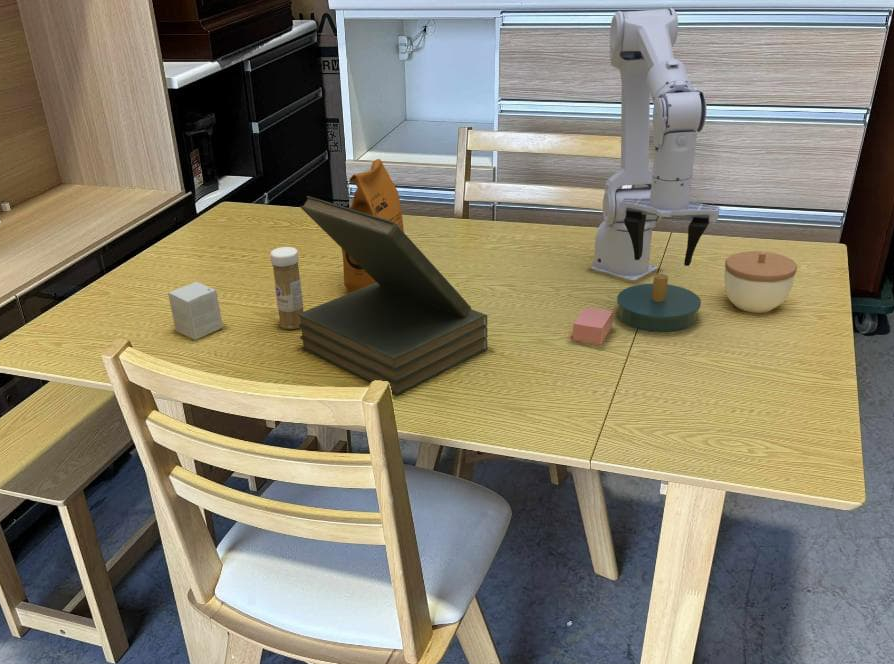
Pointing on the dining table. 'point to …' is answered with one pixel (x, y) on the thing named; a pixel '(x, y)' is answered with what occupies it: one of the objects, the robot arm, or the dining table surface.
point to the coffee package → (376, 200)
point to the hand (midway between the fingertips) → (662, 260)
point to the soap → (592, 325)
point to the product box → (195, 310)
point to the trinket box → (758, 280)
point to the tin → (656, 322)
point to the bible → (389, 307)
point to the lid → (659, 300)
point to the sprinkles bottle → (287, 286)
